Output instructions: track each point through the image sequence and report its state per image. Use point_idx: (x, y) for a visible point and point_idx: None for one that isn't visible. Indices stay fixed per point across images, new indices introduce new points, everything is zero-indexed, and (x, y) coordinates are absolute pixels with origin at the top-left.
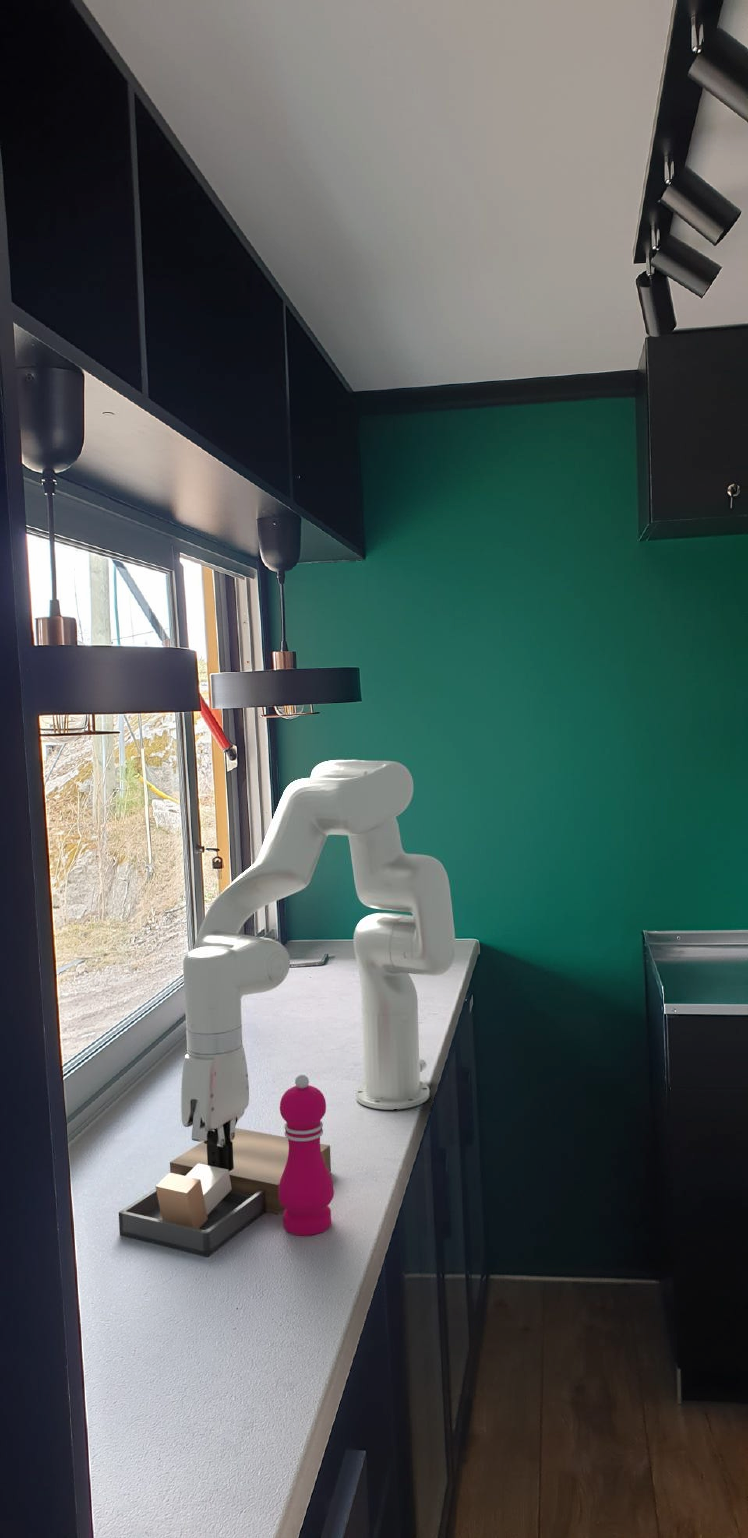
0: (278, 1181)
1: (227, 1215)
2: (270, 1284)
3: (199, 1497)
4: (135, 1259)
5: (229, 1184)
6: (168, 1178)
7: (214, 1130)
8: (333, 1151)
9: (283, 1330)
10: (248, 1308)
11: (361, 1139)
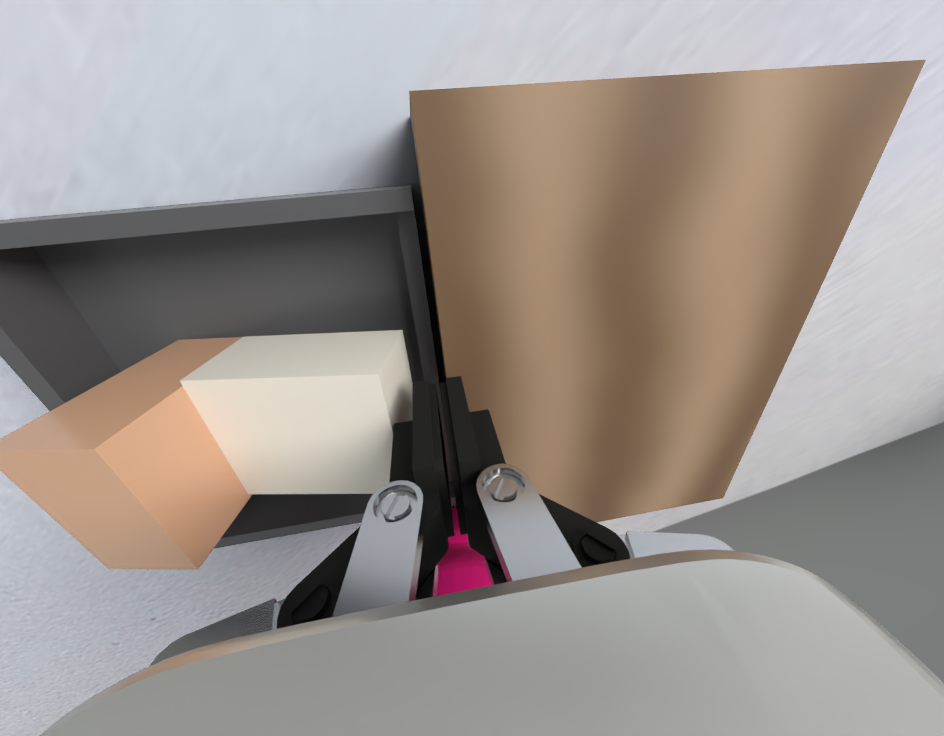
0: None
1: (288, 528)
2: (249, 606)
3: None
4: (13, 388)
5: None
6: (72, 468)
7: (484, 512)
8: (784, 389)
9: None
10: (170, 626)
11: (850, 399)
